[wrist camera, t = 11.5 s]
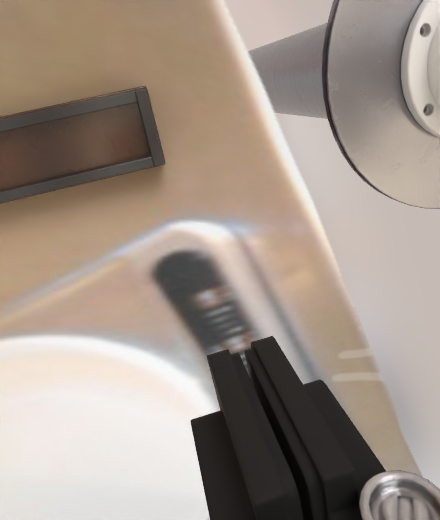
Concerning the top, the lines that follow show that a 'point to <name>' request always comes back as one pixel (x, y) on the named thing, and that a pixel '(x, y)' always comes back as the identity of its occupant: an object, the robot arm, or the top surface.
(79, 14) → the top surface
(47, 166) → the rail
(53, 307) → the top surface
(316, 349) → the top surface
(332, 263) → the top surface
